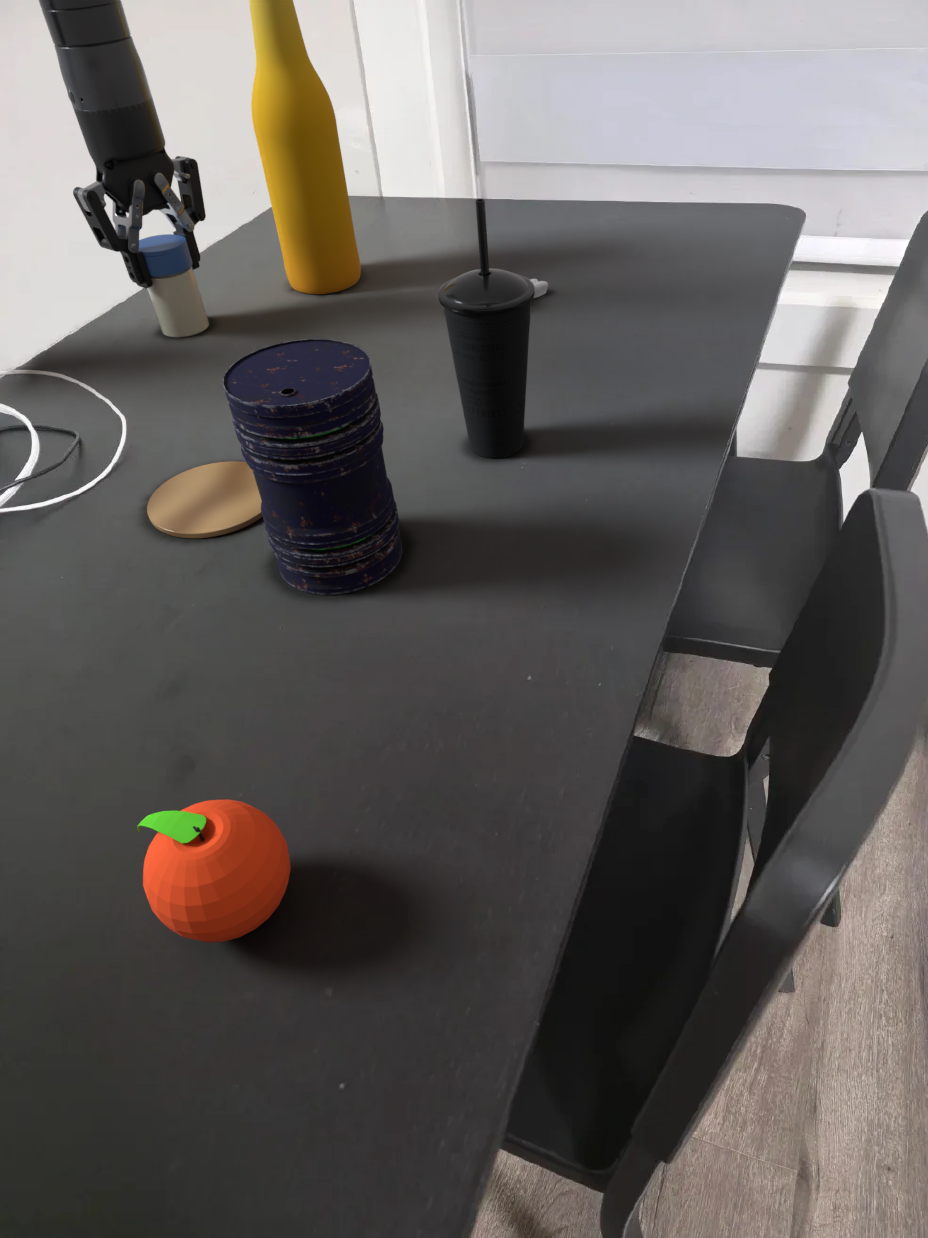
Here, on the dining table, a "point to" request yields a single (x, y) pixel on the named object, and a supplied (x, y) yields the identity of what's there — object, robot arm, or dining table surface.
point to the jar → (178, 304)
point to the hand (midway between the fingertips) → (169, 276)
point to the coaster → (206, 501)
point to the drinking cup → (490, 349)
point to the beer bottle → (301, 155)
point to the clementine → (214, 869)
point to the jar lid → (165, 254)
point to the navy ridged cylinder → (317, 462)
